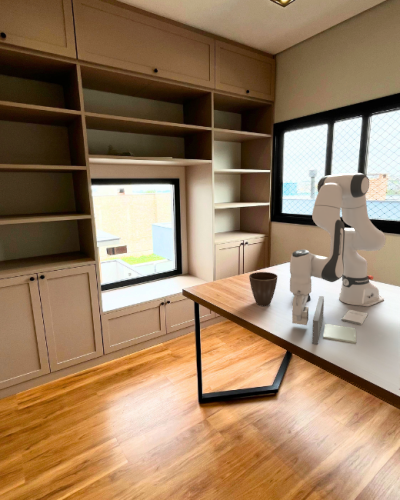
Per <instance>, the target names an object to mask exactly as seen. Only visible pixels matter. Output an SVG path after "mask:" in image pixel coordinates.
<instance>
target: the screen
mask: <svg viewBox="0 0 400 500" xmlns="http://www.w3.org/2000/svg"><path fill="white" fill-rule="evenodd" d="M324 302H325V296H322V295H319V296H318V301H317V304H316V306H315V307H316V308H315V311H314V315H313V319H312V337H311V338H312V339H311V340H312V341H311V342H312V345H313V344H314V345H318V344H319V340H320V334H321V330H322V324H323V320H324V308H325V307H324V305H325V303H324Z"/></svg>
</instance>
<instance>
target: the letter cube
mask: <svg viewBox="0 0 400 500" xmlns="http://www.w3.org/2000/svg"><path fill="white" fill-rule="evenodd" d="M291 311H292V317H291V319H292V324H296V325H302V326H303V325H304V326H307V325H308V321H309V306H305V307H304V310H303V313H302V315H301V316H302V319H301V321H297V316H296V315H293V309H292V310H291Z"/></svg>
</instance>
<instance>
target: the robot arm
mask: <svg viewBox="0 0 400 500" xmlns="http://www.w3.org/2000/svg"><path fill="white" fill-rule="evenodd" d="M369 187H370V180H369V177H368V176H367V175H366V174H364V173H361V172H356V173H347V172H346V173H344V172H343V173H339V174H332V175H330V174H328V175H325V176H322V177H321V178H320V179H319V181H318V183H317V189H316V190H317V194H316V198H315V202H314V205H313V209H312V213H311V215H312V220H313V223H315V225H316V226H317V227H318V228H320V229H322V230H324V231H325V232H327V233H328V234H329V236H330V247H329V256H324V255H323V256H322V255H319V254H318V255H317V254H314V253H311V252H310V250H307V249H297V250H295V251H293V252H292V253H291V256H290V261H289V273H290V277H289V278H290V279H289V291H290V293H292V295H293V299H292V310H293V315H296V316H297V321H301V319H302V316H301V315H302V313H303V310H304V307H306V303H308V302H307V299H308V294H309V295H310V294H311V293H312V278H311V277H313V278H317V279H321V280H323V281H326V282H330V283H335V282H337V281H339V280H341V281H342V283H341V287H340V292H339V297H338V300H339V301H340V302H342V303H344V304H348V305H353V306H364V307H370V306H372V305H373V306H374V305H375V304H378V303H381V302H383V301H384V300H385V298H384V297H383V296H382V295H380V293H379V292H380V291H379V288H378V287H377V286H375V285H374V284H373V283H372V282H370V280H373V279H374V276H373V275H368V261H367V259H366V258H364V257H363V256H361V254H359V253H358V251H363V252H364V251H366V252H375V251H376V252H377V251H380V250H382V249H383V248H384V247H385V245H386V243H387V242H386V241H387V238H386V236H385V233H384V232H383V231H382V230H381V229H380V230H379V229H378V228H377V226H375V225H374V224H373V223H372V221H371V220H370V217H369V213H368V207H367V197H366V194H367V193H368V192H369ZM341 219H342V220H343V221H342V220H341ZM345 224H346V225H348V226H350V227H345Z"/></svg>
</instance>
